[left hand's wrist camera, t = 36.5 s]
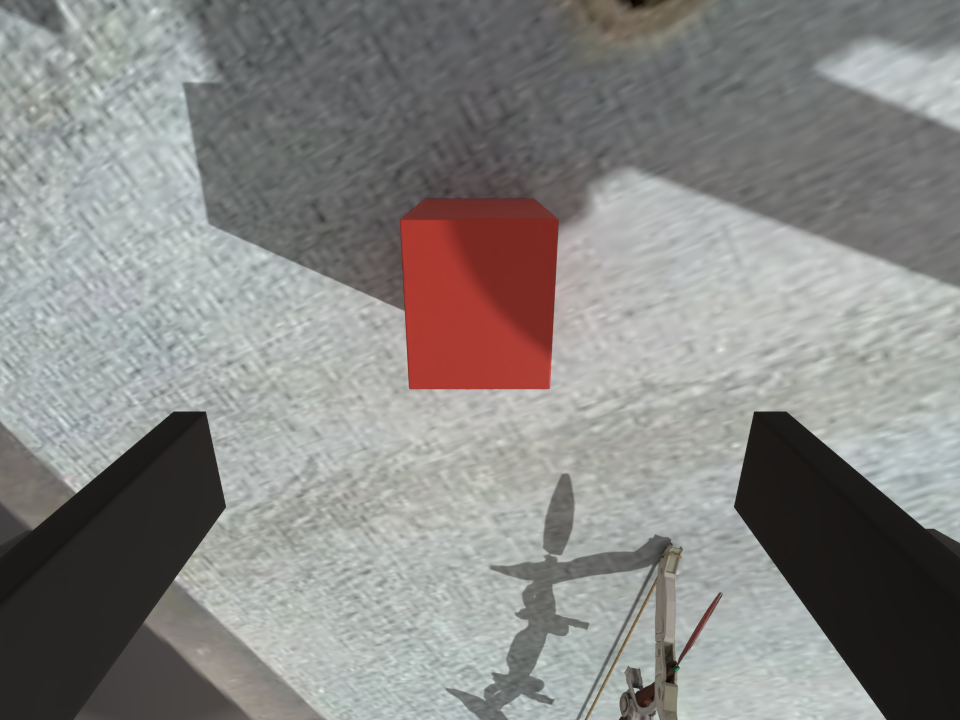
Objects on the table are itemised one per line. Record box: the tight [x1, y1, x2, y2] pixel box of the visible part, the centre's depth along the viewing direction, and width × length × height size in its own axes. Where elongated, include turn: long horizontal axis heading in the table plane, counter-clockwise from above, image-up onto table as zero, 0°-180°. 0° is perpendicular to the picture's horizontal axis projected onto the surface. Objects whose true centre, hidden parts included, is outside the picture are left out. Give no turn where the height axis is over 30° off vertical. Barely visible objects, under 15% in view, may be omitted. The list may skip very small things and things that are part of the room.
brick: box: [400, 199, 559, 389], centre depth 31 cm, size 7×8×12 cm
